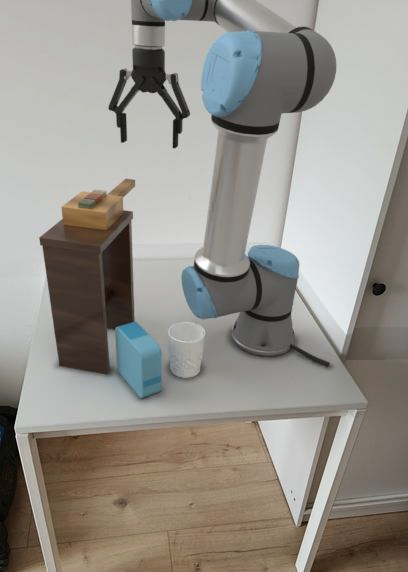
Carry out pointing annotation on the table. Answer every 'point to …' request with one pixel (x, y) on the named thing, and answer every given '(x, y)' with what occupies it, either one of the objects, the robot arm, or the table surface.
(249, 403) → the table surface
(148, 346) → the data package
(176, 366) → the white cup
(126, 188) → the wooden box with handle
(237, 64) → the robot arm
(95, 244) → the dark wooden cabinet
